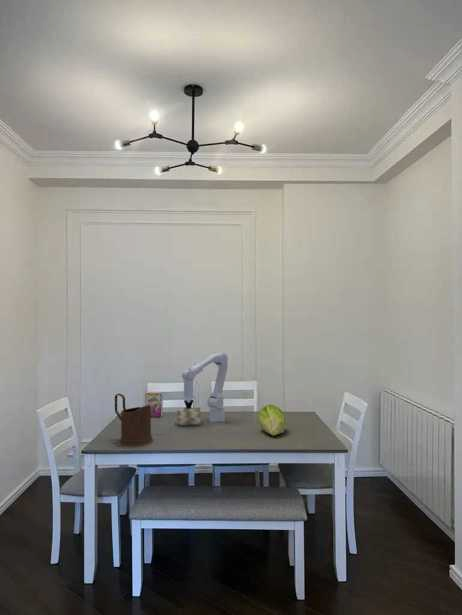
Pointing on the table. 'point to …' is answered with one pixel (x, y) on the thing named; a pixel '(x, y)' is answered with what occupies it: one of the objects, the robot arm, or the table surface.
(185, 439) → the table surface
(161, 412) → the candy bar box
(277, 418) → the lettuce
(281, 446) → the table surface
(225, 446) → the table surface
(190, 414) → the flip panel
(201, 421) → the grey long block
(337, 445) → the table surface
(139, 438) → the brown metal pitcher
